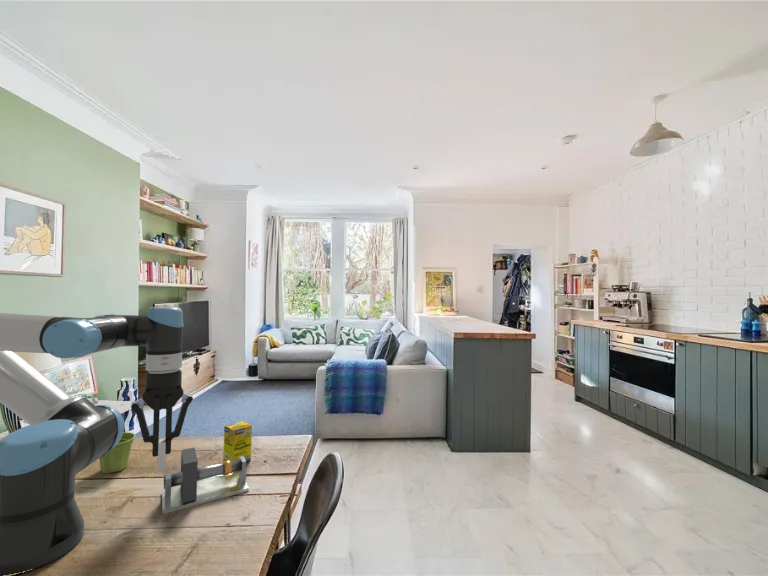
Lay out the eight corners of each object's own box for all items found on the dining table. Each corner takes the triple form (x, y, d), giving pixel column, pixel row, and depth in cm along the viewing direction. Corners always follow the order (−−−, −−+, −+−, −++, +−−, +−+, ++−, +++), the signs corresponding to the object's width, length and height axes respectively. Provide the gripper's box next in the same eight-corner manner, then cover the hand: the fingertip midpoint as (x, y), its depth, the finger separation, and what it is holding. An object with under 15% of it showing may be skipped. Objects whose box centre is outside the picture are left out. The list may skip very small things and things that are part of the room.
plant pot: (142, 462, 106) (143, 433, 106) (115, 478, 96) (116, 446, 97) (113, 460, 107) (114, 431, 107) (84, 475, 97) (85, 444, 98)
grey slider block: (182, 503, 83) (183, 464, 84) (180, 485, 91) (181, 449, 91) (196, 499, 85) (197, 461, 85) (193, 482, 93) (194, 447, 93)
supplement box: (233, 467, 103) (234, 430, 103) (222, 461, 107) (223, 425, 107) (251, 460, 108) (252, 424, 108) (240, 455, 111) (241, 420, 112)
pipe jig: (162, 514, 81) (163, 484, 81) (162, 493, 89) (162, 466, 89) (248, 491, 91) (249, 464, 91) (241, 474, 99) (241, 450, 100)
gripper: (130, 376, 79) (126, 482, 78) (195, 370, 86) (192, 467, 85) (132, 370, 85) (129, 468, 85) (193, 365, 92) (190, 455, 92)
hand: (161, 468), depth 85 cm, fingers closed
